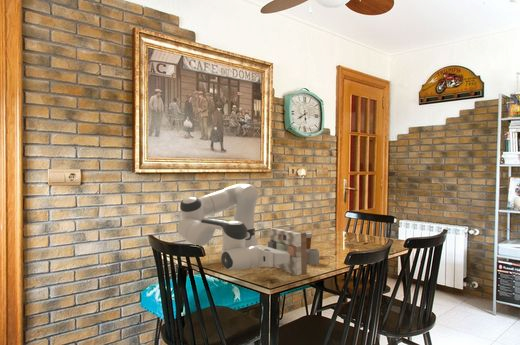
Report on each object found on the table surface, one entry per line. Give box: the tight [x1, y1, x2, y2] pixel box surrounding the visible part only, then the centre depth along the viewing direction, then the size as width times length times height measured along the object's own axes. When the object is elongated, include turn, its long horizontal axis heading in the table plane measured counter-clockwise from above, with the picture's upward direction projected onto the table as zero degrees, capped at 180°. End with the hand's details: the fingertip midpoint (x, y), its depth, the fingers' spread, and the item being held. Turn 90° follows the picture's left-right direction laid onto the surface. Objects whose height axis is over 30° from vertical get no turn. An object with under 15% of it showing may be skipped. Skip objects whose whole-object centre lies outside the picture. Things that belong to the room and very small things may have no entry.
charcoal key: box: [267, 240, 277, 249], centre depth 188 cm, size 4×3×4 cm
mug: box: [307, 248, 320, 266], centre depth 194 cm, size 10×7×7 cm
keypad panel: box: [269, 227, 308, 276], centre depth 183 cm, size 22×6×18 cm, turn 30°
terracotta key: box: [288, 245, 295, 256], centre depth 176 cm, size 4×3×4 cm
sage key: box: [276, 243, 285, 250], centre depth 182 cm, size 4×3×4 cm
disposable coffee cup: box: [304, 231, 313, 249], centre depth 214 cm, size 10×10×12 cm
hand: (286, 252), depth 174 cm, fingers closed
